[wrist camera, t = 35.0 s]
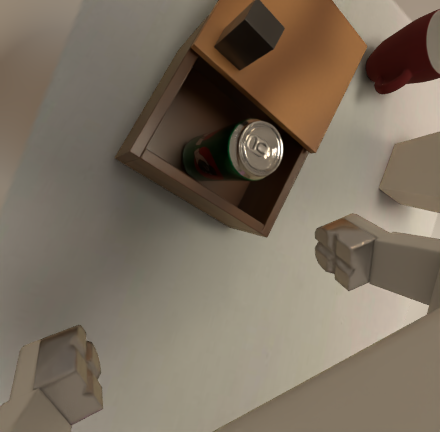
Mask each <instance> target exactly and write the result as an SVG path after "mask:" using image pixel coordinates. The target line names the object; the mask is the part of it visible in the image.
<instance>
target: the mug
mask: <svg viewBox="0 0 440 432" xmlns="http://www.w3.org/2000/svg"><path fill="white" fill-rule="evenodd" d="M366 73H367V76H368V78H369V79H370V80H371V81H373V82H375V84H374V87H375V90H376V91H377V92H378V93H379V94H388V93H391V92H394V91H396V90H398V89H399V88H401V87H403V86H404V85H405V84H411V83H420V82H426V81H431V80H434V79H438V78H440V9H438V10H436V11H434V12H431V13H429V14H427V15H425V16H423V17H420V18H418V19H417V20H415V21H413V22H412V23H410V24H408V25H407V26H405V27H404V28H402V29H401V30H399V31H398V32H396V33H395V34H393V35H392V36H390V37H389V38H387V39H386V40H384V41H383V42H382V43H381V44H380V45H379V46H378V47H377V48H376V49H375V50H374V52H373V53H372V54H371V55H370V56H369V58H368V60H367V62H366ZM382 84H383V85H382Z"/></svg>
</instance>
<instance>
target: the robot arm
mask: <svg viewBox="0 0 440 432" xmlns="http://www.w3.org/2000/svg"><path fill="white" fill-rule="evenodd" d="M315 239H316V240H317V241H319V242H318V243H317V245H316V247H315V256H316V258H317V261H318V263H319V264H320V266H321V267H322V268H323V269H324V270H325V271H326V272H329V273H333V274H334V275H335V280H336V281H338V282H339V283H340V284H341V285H342V286H343V287H344V288H346V289H347V290H348V291H350V290H353V289H355V288H357V287H359V286H362V285H364V284H366V283H370V284H372V285H375V286H378V287H380V288H383V289H386V290H389V291H391V292H394V293H397V294H399V295H402V296H405V297H408V298H410V299H413V300H416V301H419V302H421V303H424V304H427V305H429V308H428V312H427V315H426V316H424V317H422V318H420V319H418V320H416V321H414V322H413V323H411V324H409V325H407V326H405V327H403V328H402V329H400V330H398V331H396V332H394V333H392V334H391V335H389V336H387V337H385V338H383V339H381V340H380V341H378V342H376V343H374V344H372V345H370V346H369V347H367V348H365V349H363V350H361V351H359V352H358V353H356V354H354V355H352V356H350V357H348V358H347V359H345V360H343V361H341V362H339V363H337V364H336V365H334V366H332V367H330V368H328V369H326V370H325V371H323V372H321V373H319V374H317V375H316V376H314V377H312V378H310V379H308V380H306V381H305V382H303V383H301V384H299V385H297V386H295V387H294V388H292V389H290V390H288V391H286V392H284V393H283V394H281V395H279V396H277V397H275V398H273V399H272V400H270V401H268V402H266V403H264V404H262V405H261V406H259V407H257V408H255V409H253V410H252V411H250V412H248V413H246V414H244V415H242V416H241V417H239V418H237V419H235V420H233V421H231V422H230V423H228V424H226V425H224V426H222V427H220V428H219V429H217V430H215V431H213V432H440V239H435V238H429V237H423V236H417V235H411V234H404V233H398V232H392V233H389V232H387V231H385V230H384V229H382V228H380V227H378V226H377V225H375V224H373V223H371V222H370V221H368V220H366V219H364V218H362V217H361V216H359V215H357V214H353V213H352V214H349V215H347V216H345V217H342V218H340V219H338V220H336V221H333V222H331V223H328V224H326V225H324V226H321V227H319V228H317V229H316V231H315ZM100 374H101V367H100V361H99V357H98V353H97V351H96V349H95V347H94V345H93V343H92V342H89V341H86V332H85V330H84V329H83V327H82V326H81V325H76V326H73V327H71V328H68V329H66V330H63V331H60V332H58V333H55V334H52V335H50V336H47V337H44V338H42V339H40V340H38V341H35V342H32V343H30V344H27V345H24V346H23V347H22V349H21V350H20V352H19V357H18V362H17V367H16V371H15V376H14V381H13V386H12V390H11V395H10V400H9V401H8V402H6V403H4V404H2V406H1V407H0V432H70V431H71V428H72V426H71V425H73V424H75V423H77V422H79V421H81V420H83V419H85V418H87V417H89V416H90V415H92V414H94V413H96V412H98V411H100V410H102V409H103V397H102V386H101V385H100V383H99V382H98V378H99V376H100Z"/></svg>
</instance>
